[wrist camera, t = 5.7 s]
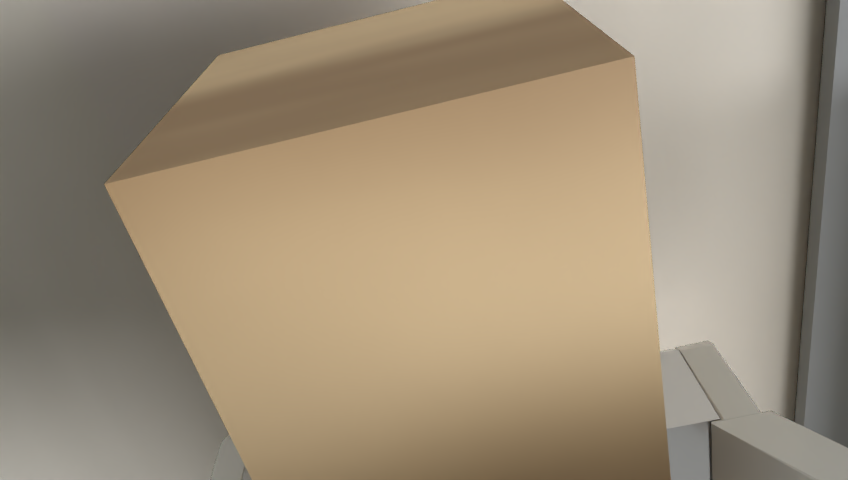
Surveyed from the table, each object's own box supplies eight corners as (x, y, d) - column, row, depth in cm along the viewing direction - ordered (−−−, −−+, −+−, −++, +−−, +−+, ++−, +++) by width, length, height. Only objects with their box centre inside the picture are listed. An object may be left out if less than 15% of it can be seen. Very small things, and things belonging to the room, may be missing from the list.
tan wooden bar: (218, 55, 10) (104, 184, 6) (532, -24, 10) (634, 55, 6) (416, 581, 15) (425, 826, 12) (616, 542, 15) (697, 782, 11)
